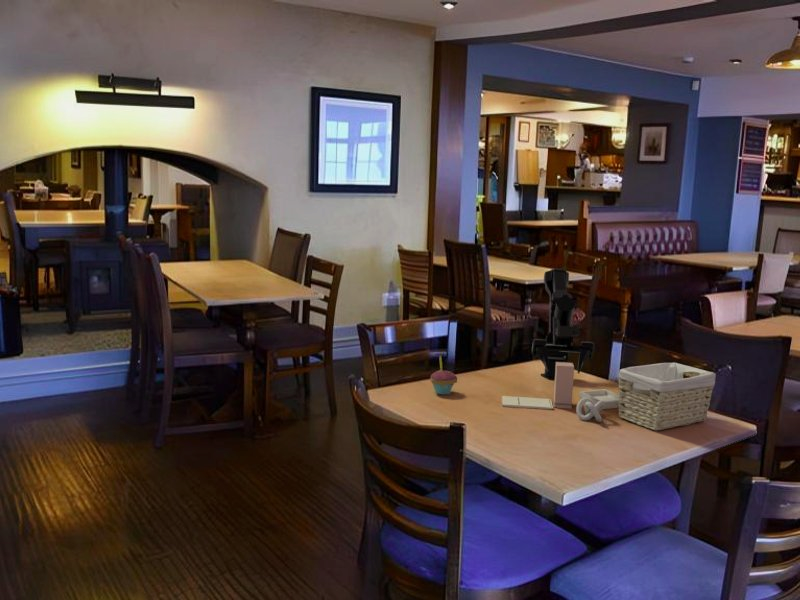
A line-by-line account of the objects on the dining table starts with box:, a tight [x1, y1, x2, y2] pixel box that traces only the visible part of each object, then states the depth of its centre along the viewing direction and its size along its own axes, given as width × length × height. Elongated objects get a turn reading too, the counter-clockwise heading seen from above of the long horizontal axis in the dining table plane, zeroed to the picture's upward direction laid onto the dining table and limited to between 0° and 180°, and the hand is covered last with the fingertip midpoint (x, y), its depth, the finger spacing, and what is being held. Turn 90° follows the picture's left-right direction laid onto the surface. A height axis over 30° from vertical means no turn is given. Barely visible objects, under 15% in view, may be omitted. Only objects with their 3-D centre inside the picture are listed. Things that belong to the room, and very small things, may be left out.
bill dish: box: [578, 388, 619, 410], centre depth 220 cm, size 12×10×2 cm
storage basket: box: [617, 362, 717, 431], centre depth 203 cm, size 24×16×15 cm
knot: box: [575, 398, 605, 423], centre depth 202 cm, size 8×8×6 cm
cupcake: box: [430, 355, 458, 396], centre depth 224 cm, size 9×8×12 cm
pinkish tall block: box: [552, 362, 575, 409], centre depth 214 cm, size 5×5×13 cm
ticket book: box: [501, 395, 554, 410], centre depth 216 cm, size 9×15×1 cm, turn 83°
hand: (563, 372), depth 216 cm, fingers open, 9 cm apart
